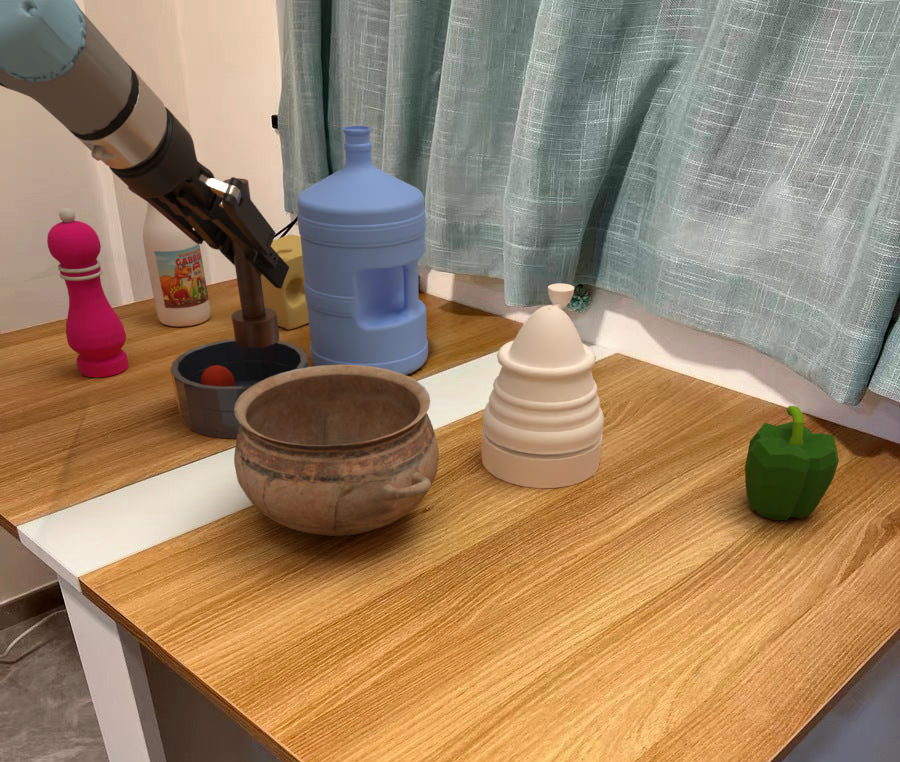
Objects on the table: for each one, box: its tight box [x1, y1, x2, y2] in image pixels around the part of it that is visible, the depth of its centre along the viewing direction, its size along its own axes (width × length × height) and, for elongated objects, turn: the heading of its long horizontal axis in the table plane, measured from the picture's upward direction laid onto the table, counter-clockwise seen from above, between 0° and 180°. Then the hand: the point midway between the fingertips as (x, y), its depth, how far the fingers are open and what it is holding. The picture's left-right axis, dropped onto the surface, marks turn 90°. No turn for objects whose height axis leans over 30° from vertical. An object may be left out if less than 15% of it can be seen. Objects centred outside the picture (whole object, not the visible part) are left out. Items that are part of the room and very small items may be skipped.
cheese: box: [261, 234, 309, 331], centre depth 131 cm, size 10×11×10 cm
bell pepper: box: [744, 405, 840, 521], centre depth 85 cm, size 8×8×10 cm
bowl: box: [170, 338, 309, 440], centre depth 105 cm, size 16×16×6 cm
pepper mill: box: [46, 207, 130, 379], centre depth 111 cm, size 7×7×20 cm
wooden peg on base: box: [222, 177, 280, 348], centre depth 97 cm, size 5×5×17 cm
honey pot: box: [481, 283, 605, 489], centre depth 91 cm, size 13×13×18 cm
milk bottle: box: [142, 202, 212, 327], centre depth 127 cm, size 8×8×20 cm
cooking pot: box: [233, 365, 440, 538], centre depth 83 cm, size 25×19×12 cm
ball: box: [201, 365, 235, 387], centre depth 107 cm, size 4×4×4 cm
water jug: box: [296, 125, 429, 376], centre depth 111 cm, size 16×16×28 cm
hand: (270, 275), depth 101 cm, fingers closed on wooden peg on base, 3 cm apart
